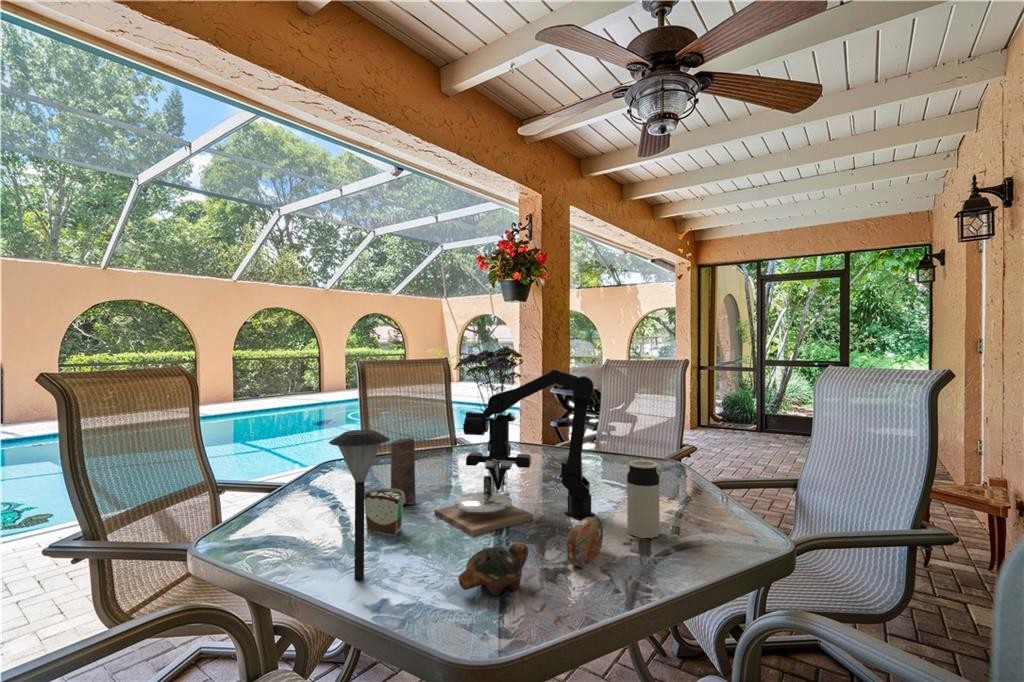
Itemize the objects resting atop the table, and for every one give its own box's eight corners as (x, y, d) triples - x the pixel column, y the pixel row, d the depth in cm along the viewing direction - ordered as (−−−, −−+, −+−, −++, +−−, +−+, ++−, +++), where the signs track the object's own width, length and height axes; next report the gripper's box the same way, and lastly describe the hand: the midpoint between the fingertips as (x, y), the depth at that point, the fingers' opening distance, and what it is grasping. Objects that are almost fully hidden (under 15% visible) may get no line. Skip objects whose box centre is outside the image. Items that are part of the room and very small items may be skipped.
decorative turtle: (541, 586, 97) (540, 547, 96) (475, 615, 88) (474, 572, 88) (512, 566, 105) (511, 530, 104) (450, 591, 96) (448, 551, 95)
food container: (415, 529, 128) (415, 491, 128) (400, 537, 123) (400, 497, 123) (378, 522, 133) (378, 485, 134) (362, 530, 128) (362, 491, 128)
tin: (577, 574, 102) (577, 533, 103) (564, 570, 104) (564, 530, 104) (604, 549, 115) (604, 513, 115) (591, 546, 117) (591, 511, 117)
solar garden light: (355, 562, 108) (356, 426, 109) (401, 571, 103) (402, 429, 104) (313, 586, 97) (314, 434, 97) (363, 598, 92) (364, 439, 93)
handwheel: (506, 522, 128) (506, 491, 129) (448, 519, 131) (448, 489, 131) (515, 503, 144) (515, 476, 144) (462, 501, 146) (462, 474, 147)
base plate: (533, 519, 135) (533, 513, 135) (472, 536, 123) (472, 529, 123) (492, 502, 151) (492, 496, 151) (434, 515, 139) (434, 509, 139)
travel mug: (664, 539, 121) (663, 466, 122) (633, 540, 121) (632, 466, 121) (653, 527, 129) (652, 459, 130) (623, 528, 129) (623, 459, 129)
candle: (401, 509, 144) (401, 441, 145) (385, 504, 149) (385, 439, 149) (420, 503, 150) (420, 438, 151) (404, 498, 155) (404, 435, 155)
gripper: (533, 432, 151) (533, 483, 150) (474, 430, 153) (473, 480, 153) (529, 438, 139) (529, 493, 139) (465, 436, 142) (465, 490, 142)
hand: (498, 489), depth 144 cm, fingers closed
